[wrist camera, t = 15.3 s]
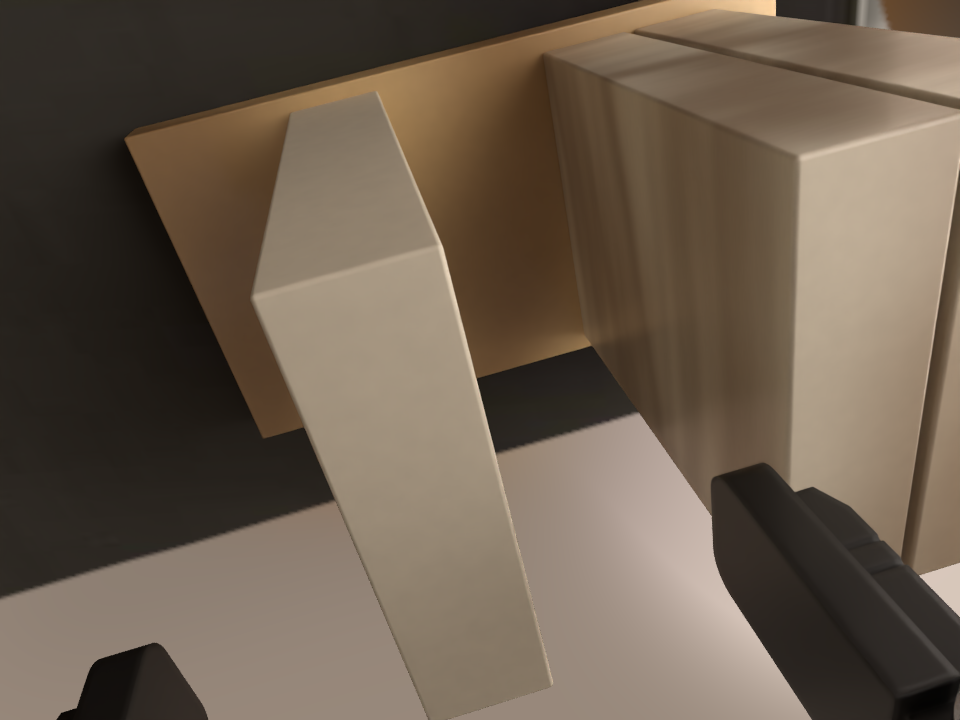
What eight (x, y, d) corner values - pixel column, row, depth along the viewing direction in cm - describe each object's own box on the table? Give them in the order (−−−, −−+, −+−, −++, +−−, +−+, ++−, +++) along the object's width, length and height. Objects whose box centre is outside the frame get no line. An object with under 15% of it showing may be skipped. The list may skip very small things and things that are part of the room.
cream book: (383, 389, 23) (430, 727, 13) (289, 112, 19) (247, 297, 8) (453, 369, 23) (554, 687, 13) (376, 89, 19) (442, 243, 8)
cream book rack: (265, 419, 24) (215, 814, 13) (133, 128, 19) (-139, 367, 8) (754, 281, 25) (1099, 536, 14) (753, -29, 20) (1294, -16, 9)
